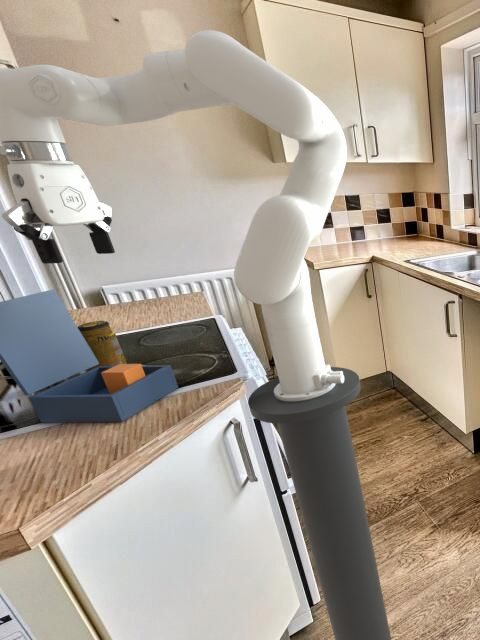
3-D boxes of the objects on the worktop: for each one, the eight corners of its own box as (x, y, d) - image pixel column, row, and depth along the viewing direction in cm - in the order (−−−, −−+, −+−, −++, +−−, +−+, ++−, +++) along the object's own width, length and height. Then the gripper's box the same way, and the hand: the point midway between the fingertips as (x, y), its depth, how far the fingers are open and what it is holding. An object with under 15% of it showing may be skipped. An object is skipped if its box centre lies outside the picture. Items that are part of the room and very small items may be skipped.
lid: (54, 289, 83) (33, 293, 83) (-31, 309, 70) (-55, 314, 70) (99, 363, 88) (80, 367, 89) (28, 394, 76) (6, 399, 76)
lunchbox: (178, 387, 90) (170, 364, 88) (122, 421, 77) (111, 396, 75) (108, 388, 91) (98, 366, 89) (40, 422, 78) (28, 397, 76)
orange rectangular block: (153, 395, 85) (141, 363, 83) (136, 404, 82) (123, 372, 79) (132, 395, 85) (119, 363, 83) (114, 405, 82) (100, 372, 79)
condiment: (112, 366, 102) (93, 319, 98) (145, 365, 102) (127, 318, 97) (82, 379, 95) (60, 329, 91) (118, 379, 95) (97, 329, 90)
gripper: (0, 151, 62) (50, 266, 68) (109, 157, 78) (141, 249, 85) (-47, 153, 63) (7, 268, 69) (71, 158, 79) (106, 250, 85)
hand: (81, 257), depth 77 cm, fingers open, 9 cm apart
